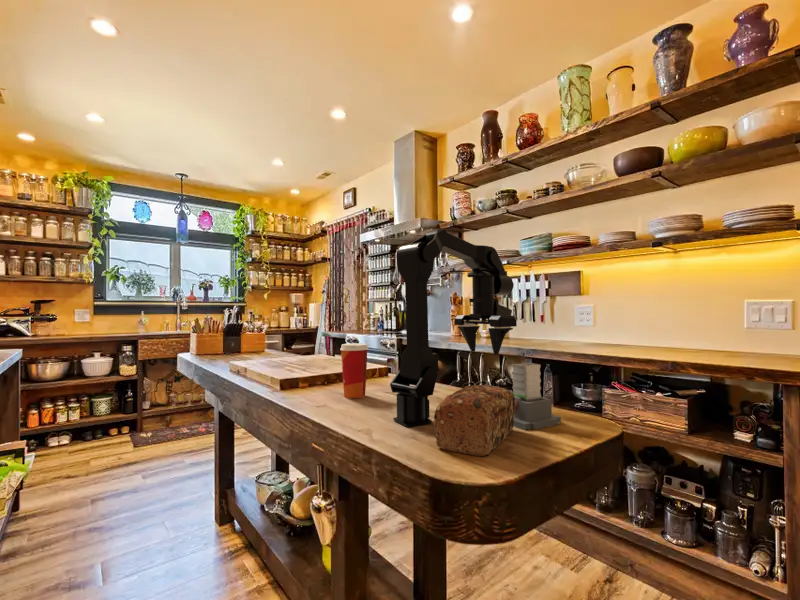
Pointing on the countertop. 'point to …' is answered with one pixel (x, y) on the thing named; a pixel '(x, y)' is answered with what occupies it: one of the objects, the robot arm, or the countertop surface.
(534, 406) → the stand base
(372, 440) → the countertop surface
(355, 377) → the coffee cup
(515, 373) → the column
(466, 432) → the bread
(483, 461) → the countertop surface
